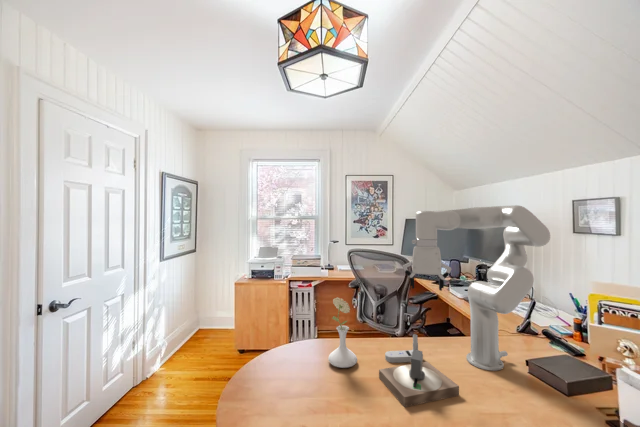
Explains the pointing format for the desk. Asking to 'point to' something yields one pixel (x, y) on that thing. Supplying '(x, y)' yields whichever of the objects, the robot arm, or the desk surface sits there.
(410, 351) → the electronic device
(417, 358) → the dark grey boxy piece
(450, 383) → the board
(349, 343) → the desk surface
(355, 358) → the flower in vase
